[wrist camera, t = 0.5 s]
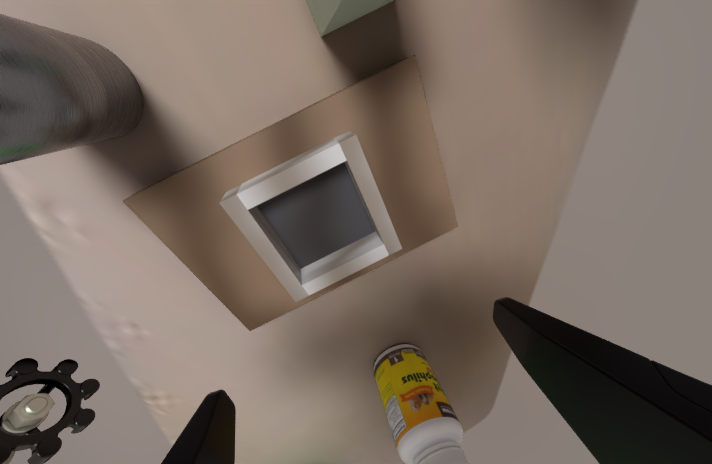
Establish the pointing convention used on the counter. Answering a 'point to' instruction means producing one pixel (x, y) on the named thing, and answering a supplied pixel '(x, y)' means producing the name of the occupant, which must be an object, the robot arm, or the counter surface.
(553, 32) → the counter surface
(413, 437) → the supplement bottle
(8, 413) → the valve
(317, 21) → the square peg
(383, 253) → the bore board
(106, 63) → the round peg
